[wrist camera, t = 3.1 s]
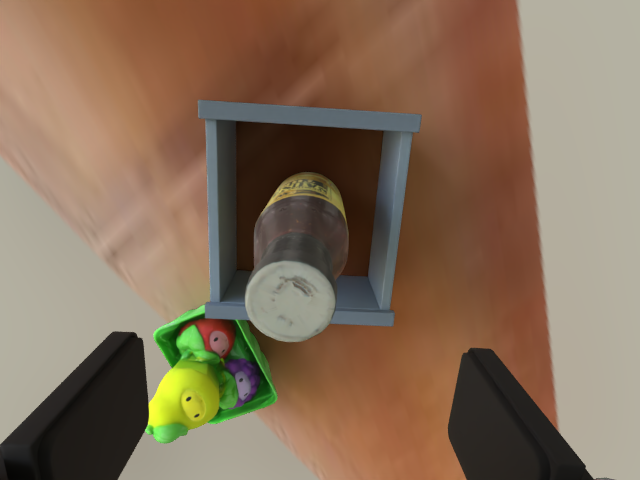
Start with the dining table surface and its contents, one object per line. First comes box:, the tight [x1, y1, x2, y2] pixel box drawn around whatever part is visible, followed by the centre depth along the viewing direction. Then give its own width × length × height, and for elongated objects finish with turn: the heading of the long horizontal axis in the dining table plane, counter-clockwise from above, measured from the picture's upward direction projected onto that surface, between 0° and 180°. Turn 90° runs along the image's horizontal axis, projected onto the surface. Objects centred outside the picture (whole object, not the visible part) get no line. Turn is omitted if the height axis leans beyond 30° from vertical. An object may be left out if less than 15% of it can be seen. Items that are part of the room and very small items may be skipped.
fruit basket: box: [145, 305, 277, 443], centre depth 33 cm, size 11×9×11 cm
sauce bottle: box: [245, 172, 349, 342], centre depth 25 cm, size 6×6×20 cm
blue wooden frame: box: [198, 100, 422, 326], centre depth 31 cm, size 15×16×8 cm
